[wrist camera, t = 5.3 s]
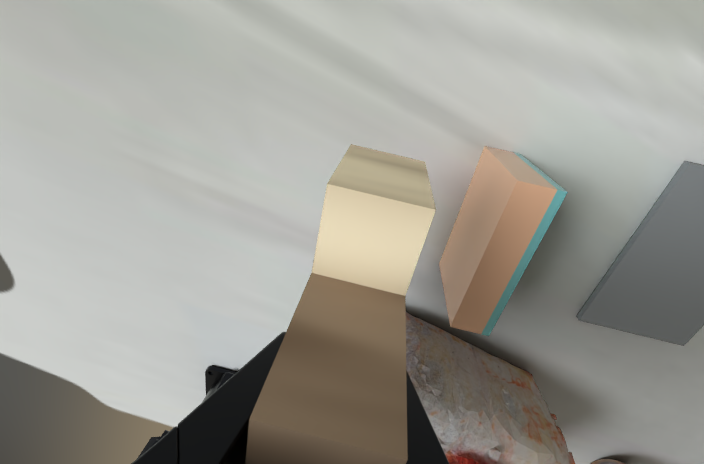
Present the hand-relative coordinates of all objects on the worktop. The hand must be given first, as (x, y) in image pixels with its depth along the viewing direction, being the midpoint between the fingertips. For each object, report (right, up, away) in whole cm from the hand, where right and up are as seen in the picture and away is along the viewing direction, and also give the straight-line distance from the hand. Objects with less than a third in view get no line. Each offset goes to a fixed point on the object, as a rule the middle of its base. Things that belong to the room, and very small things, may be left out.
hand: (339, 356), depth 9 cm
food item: (+8, -7, +17) cm, 20 cm away
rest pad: (+20, +2, +11) cm, 23 cm away
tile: (+8, +4, +11) cm, 14 cm away
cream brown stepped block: (+1, +2, +4) cm, 5 cm away
